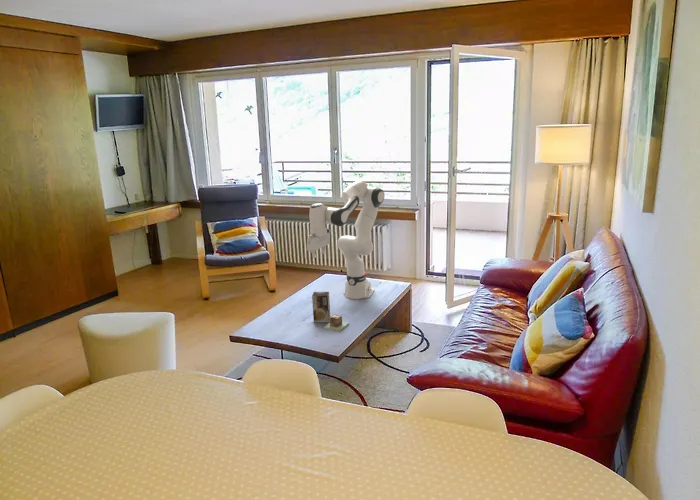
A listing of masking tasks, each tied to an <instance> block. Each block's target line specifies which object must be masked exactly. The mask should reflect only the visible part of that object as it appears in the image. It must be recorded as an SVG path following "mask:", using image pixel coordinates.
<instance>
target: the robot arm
mask: <svg viewBox="0 0 700 500" xmlns="http://www.w3.org/2000/svg"><path fill="white" fill-rule="evenodd" d="M341 199H342V202H343V203H344V206H343V207H341V208H340V207H339V208H336V207H329V206H327V205H325V204H324V203H323V202H316V203H313V204H311V205H310V206H309V211H308V212H309V216H308V217H309V223H310V225H309V231H310V233H309V234H310V235H309V236H308V238H307V240H306V251H307V252H310V253H311V254H312V258H314V259H315V258H317V257H318V255H317V254H316V251H317V250H320V249H321V252H320V253H321V254H323V255H324V254H326V249H327V246H328V245H330V242H331V234H330V233H331V228H326V224H327V225H332V226H336V227H342V226H344V225H345V224H346V223H347V221H349V218H350V216H352V214H353V213H354V211H355V210H356V209H357V208H358V206H359V204H362V205H363V206H362V207H361V209H360V212H359V213H358V215H357V218H356V220H355V223H354V228H355V229H354V230H355V231H357V233H356V236H354V235H351V234H350V235H340V236H339V237H338V239H337V248H338V250H340V252H341V253H342V255H343V257H344V259H345V262H346V263H345V264H346V281H345V283H344V291H343V295H345V297H346V298H348V299H353V300H359V299H360V300H361V299H367V298H370V297H371V296H372V294H374V292H375V288H374V287H372V284H371V282H370V280H368V279H367V278H366V277H367V276H368V272H365V262H364V260H363V259H362V258H361V257H360V256H369V255H371V253H372V252H373V251H374V244H373V241H372V239H371V232H372V229H373V227H374V224H375V222H376V219H377V215H378V212H379V207H380V206H381V204H383V202H384V199H385V192H384V190H383V189H382V188H380V187H374V186H369V185H368V184H367V183H366V182H365V181H364V180H361V179H360V180H359V179H358V180H355V181H354V182H352V183H350V184H349V185H348V186H347V187H345V188H344V189H343V191H342V192H341Z"/></svg>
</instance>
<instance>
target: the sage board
mask: <svg viewBox="0 0 700 500" xmlns="http://www.w3.org/2000/svg"><path fill="white" fill-rule="evenodd" d="M349 325H350V322H347V321H342V324H341V325H340V326H339V327H333V326H330V322H327V324H326V325H324V326H323V330H326V331H333V332H337V333H339V332H341V331H343V330H344V329H345V328H347V327H348V326H349Z"/></svg>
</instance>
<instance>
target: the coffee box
mask: <svg viewBox="0 0 700 500" xmlns="http://www.w3.org/2000/svg"><path fill="white" fill-rule="evenodd" d="M311 301H312V316H313V322H314V323H330V317H331V303H330V292H329V291H313V293H312V295H311Z"/></svg>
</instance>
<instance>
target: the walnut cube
mask: <svg viewBox="0 0 700 500" xmlns="http://www.w3.org/2000/svg"><path fill="white" fill-rule="evenodd" d="M342 322H343V316H342V315H340V314H335V313H334V314H332V315H330V321H329V323H330V326H333V327H339V326H340V325H341V324H342Z"/></svg>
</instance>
